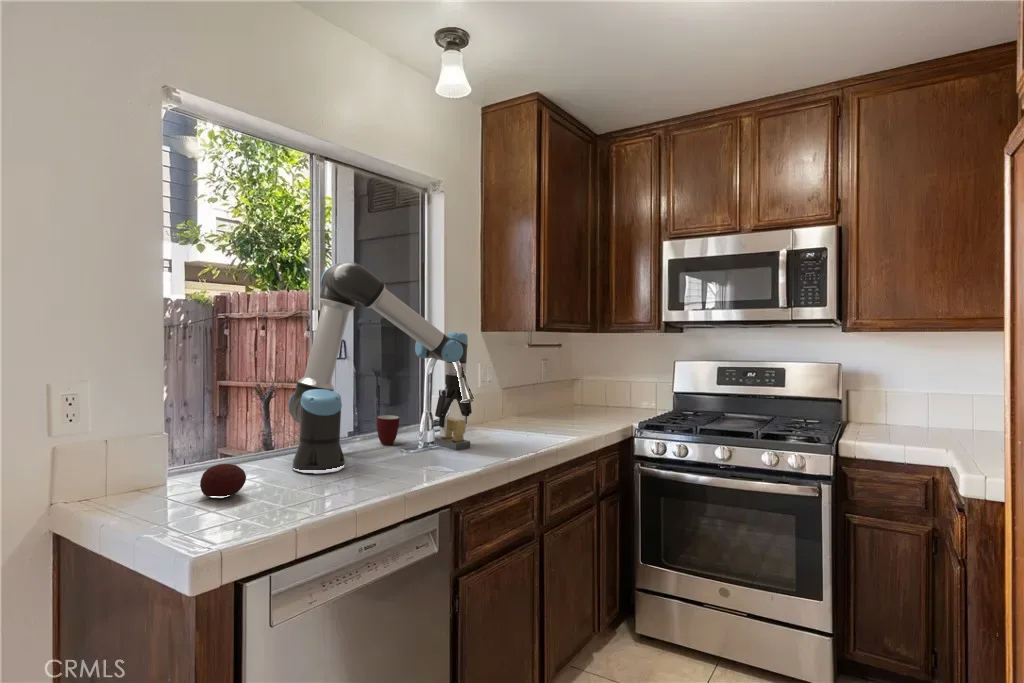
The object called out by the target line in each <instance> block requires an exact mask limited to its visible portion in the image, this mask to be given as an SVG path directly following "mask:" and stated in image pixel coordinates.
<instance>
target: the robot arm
mask: <svg viewBox="0 0 1024 683" xmlns="http://www.w3.org/2000/svg"><path fill="white" fill-rule="evenodd" d="M320 287H321V291H320V295H319V298H318V299H319V302H320V303H321V305H322V307H321V310H320V315H319V317H318V318H319V319H318V322H317V326H316V330H315V334H314V338H313V341H312V346H311V349H310V353H309V357H308V360H307V365H306V368H305V373H304V376H303V377H302V378H300V379H298V380H297V383H296V386H295V390H294V392H293V393H292V394H291V395H290V397H289V401H288V412H289V413H290V415H291V418H293V420H294V421H296V423H299V425H300V427H299V444H298V446H297V449H296V451H295V452H296V453H295V454H294V457H293V461H292V469H293V468H295V469H299V470H326V469H332V468H337V467H340V466H343V465H344V464H345V462H346V461H345V457H344V452H343V450H342V446H341V443H340V441H341V439H340V438H341V422H342V421H341V419H342V407H343V406H342V405H343V404H342V397H341V396H342V395H341V394H340V393H339V392H336V391H335V387H334V386H333V384H332V380H333V377H334V372H335V368H336V364H337V360H338V357H339V352H340V349H341V346H342V343H343V342H342V341H343V336H344V334H345V329H346V326H347V322H348V318H349V314H350V312H352V311H353V310H355V309H356V307H357V303H358V304H360V305H361V306H363V307H364V308H366V309H370V308H371V309H372V310H374V311H375V312H377V314H379V315H381V316H382V317H383V318H385V319H386V320H387V321H389V322H390V323H392V324H393V326H395V327H397V328H398V329H399V330H400V331H402V332H403V333H404V334H407V336H409V337H411V338H412V339H413V340H414V341H415V346H414V350H415V354H416V356H417V357H418V358H419V359H420V358H421V359H434V360H438V361H442V362H445V373H446V374H445V377H444V378H445V379H444V380H445V383H444V384H445V385H446V386H445V389H439V390H438V399H437V404H436V409H435V414H434V416H435V417H437V418H439V420H438V426H439V435H440V437H442V436H444V437H445V436H446V432H447V419H446V417H447V416H448V415H447V414H448V412H449V410H450V407H451V404H452V403H453V402H454V401H455V400H456V401H457V405H458V407H459V410H460V413H461V415H459V420H463V421H465V430H466V427H467V423H468V417H470V415H471V414H472V402H469V403H460V401H461V400H462V396H461V392H460V387H459V381H458V377H457V371H456V369H455V367H454V365H453V363H452V362H456V361H458V360H460V362H461V364H462V367H463V371H464V376H465V380H466V379H467V378H466V377H467V376H466V375H465V374H467V362H468V360H467V359H468V358H467V357H468V346H469V345H468V334H466V333H465V332H456V331H455V332H451V331H450V332H448V333H447V334H445V333H444V332H443V331H441V330H440V329H438V328H437V327H435V325H433V324H432V323H430V322H429V321H428V320H426V318H424V317H423V316H422V315H420V314H419V313H418V312H416V311H415V310H414V309H412V308H411V307H410V306H409V305H408V304H406V303H405V302H404V301H402V300H401V299H400V298H398V297H397V296H396V295H394V294H393V293H392V292H391V291H389V290H388V289H387V288H386V284H385V282H383V281H382V280H380V279H379V278H378V277H377V276H375V274H373V273H372V272H370V271H369V270H368V269H367V268H365V267H364V266H362V265H361V264H358V263H357V262H343V263H335V264H333V265H331V266H329V267H328V268H327V269H326V270H324V271H323V273H322V276H321V279H320ZM467 388H468V389H469V391H470V392H471V388H470V387H467ZM464 434H466V431H465V432H463V435H464Z"/></svg>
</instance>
